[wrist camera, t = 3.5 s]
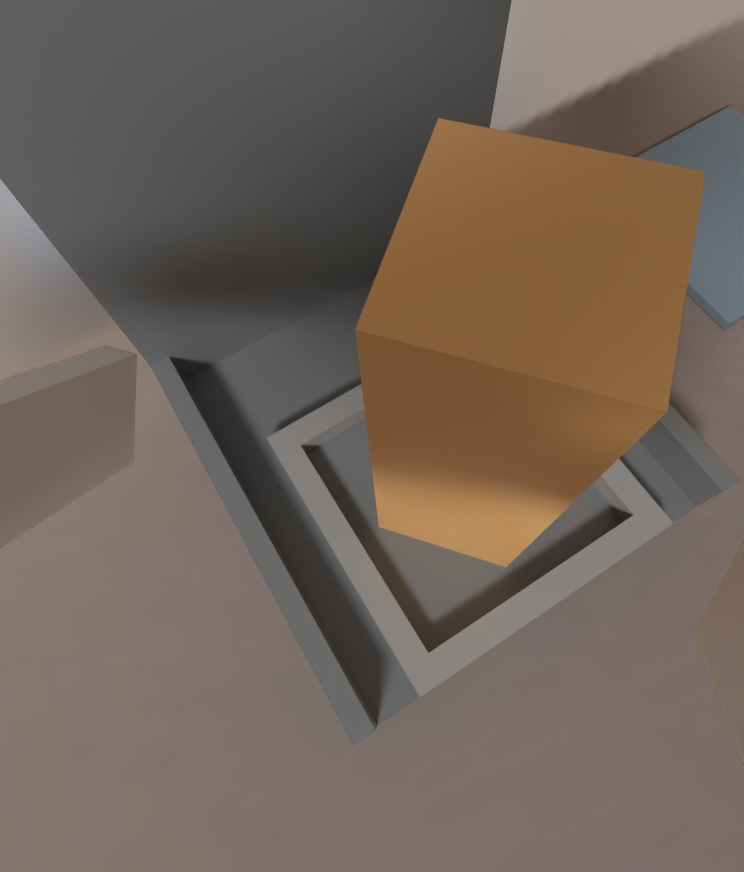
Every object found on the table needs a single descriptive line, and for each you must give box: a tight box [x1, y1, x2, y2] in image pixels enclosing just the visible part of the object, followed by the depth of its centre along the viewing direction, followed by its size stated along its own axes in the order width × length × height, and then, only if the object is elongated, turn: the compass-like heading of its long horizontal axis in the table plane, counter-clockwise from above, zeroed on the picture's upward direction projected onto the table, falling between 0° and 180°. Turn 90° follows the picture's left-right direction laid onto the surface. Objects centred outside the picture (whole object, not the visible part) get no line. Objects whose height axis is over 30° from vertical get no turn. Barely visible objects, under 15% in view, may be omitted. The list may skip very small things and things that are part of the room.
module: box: [355, 118, 705, 567], centre depth 17 cm, size 5×5×14 cm
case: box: [0, 0, 740, 745], centre depth 17 cm, size 18×16×18 cm
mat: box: [635, 105, 744, 329], centre depth 29 cm, size 10×10×1 cm
